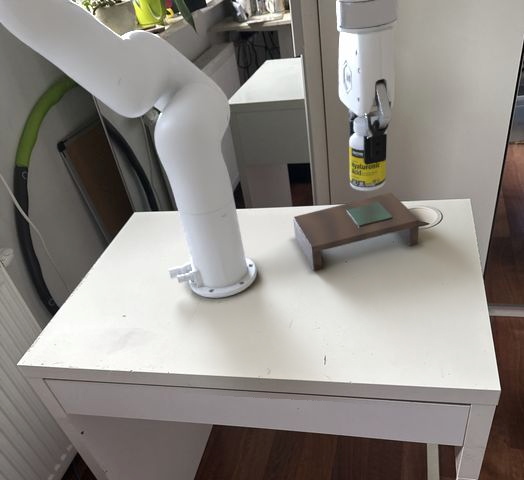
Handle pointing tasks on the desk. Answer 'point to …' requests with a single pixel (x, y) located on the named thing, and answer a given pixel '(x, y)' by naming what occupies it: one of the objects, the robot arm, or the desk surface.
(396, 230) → the shelf
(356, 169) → the supplement bottle
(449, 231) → the desk surface
